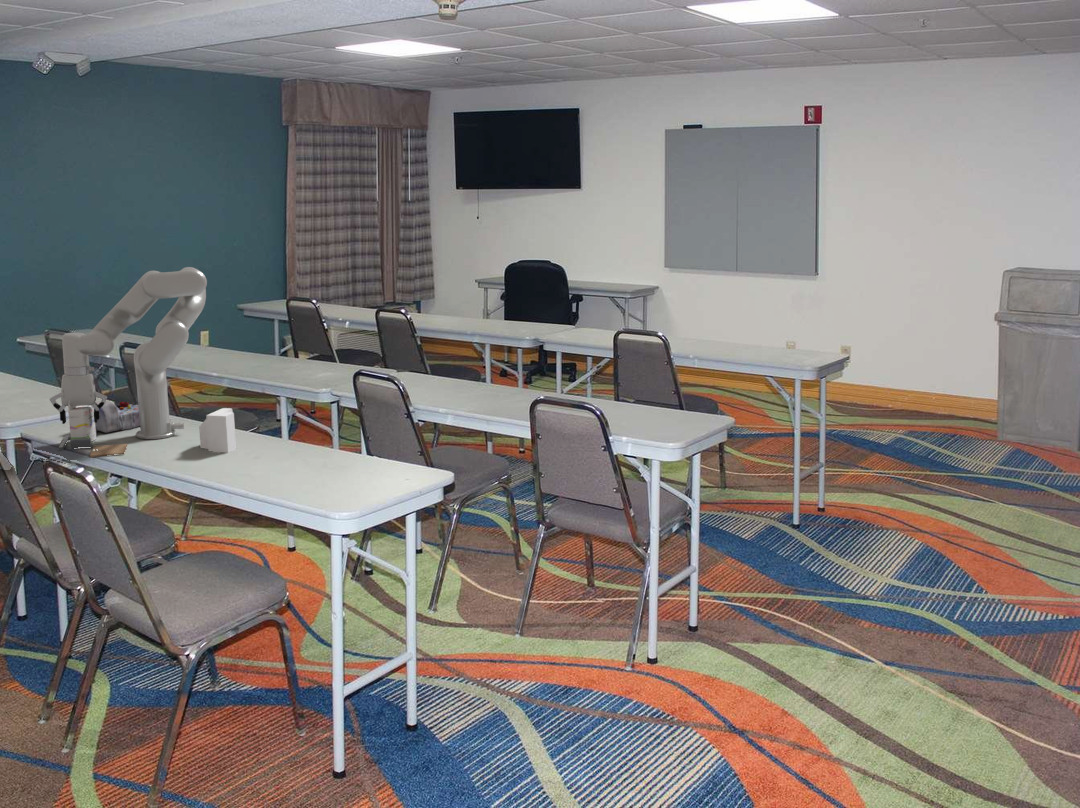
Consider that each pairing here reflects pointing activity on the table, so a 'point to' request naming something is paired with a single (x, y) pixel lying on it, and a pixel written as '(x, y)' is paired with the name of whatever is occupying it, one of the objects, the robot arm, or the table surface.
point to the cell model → (117, 417)
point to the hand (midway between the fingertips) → (80, 422)
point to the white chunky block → (218, 431)
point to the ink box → (81, 422)
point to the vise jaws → (76, 442)
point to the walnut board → (108, 450)
